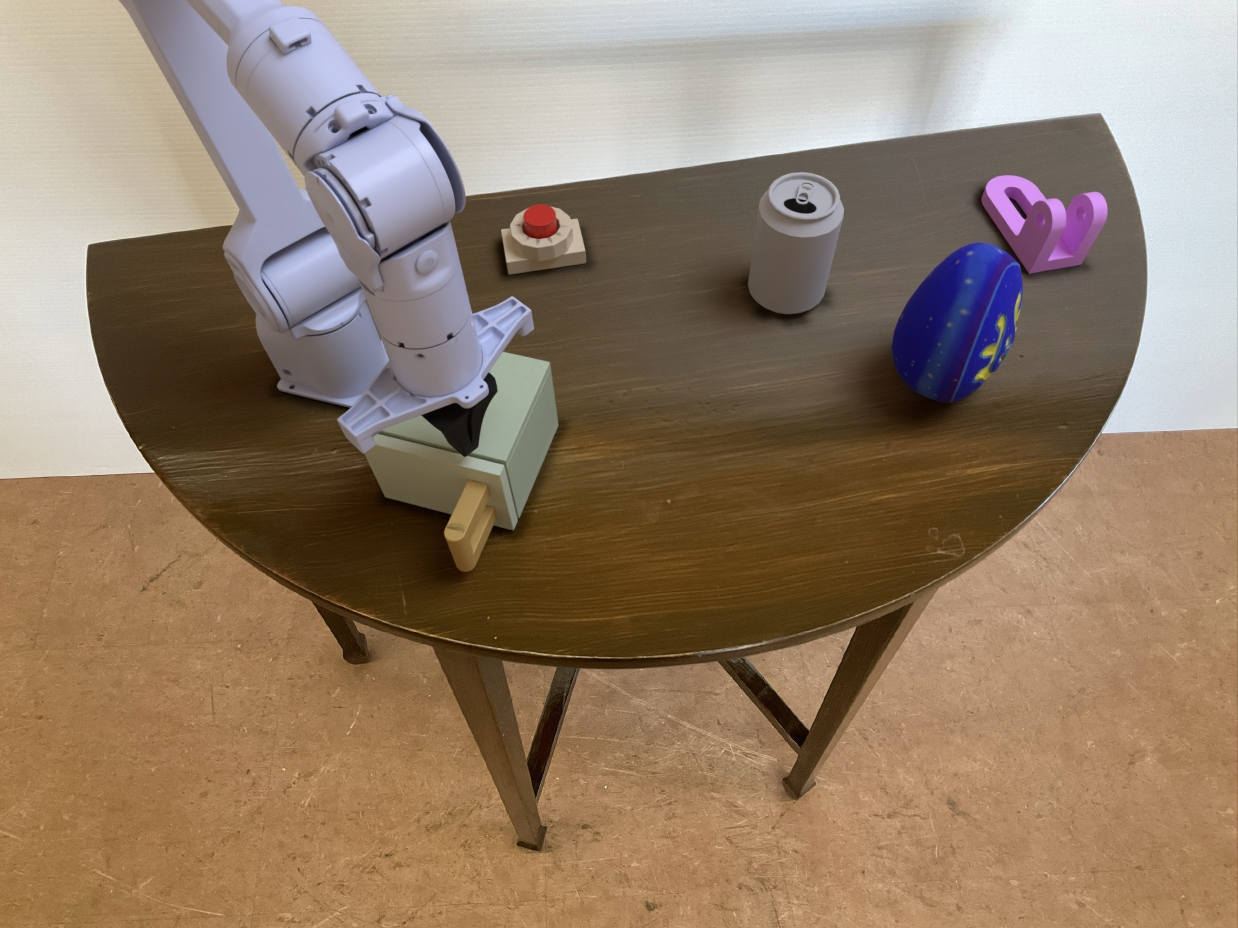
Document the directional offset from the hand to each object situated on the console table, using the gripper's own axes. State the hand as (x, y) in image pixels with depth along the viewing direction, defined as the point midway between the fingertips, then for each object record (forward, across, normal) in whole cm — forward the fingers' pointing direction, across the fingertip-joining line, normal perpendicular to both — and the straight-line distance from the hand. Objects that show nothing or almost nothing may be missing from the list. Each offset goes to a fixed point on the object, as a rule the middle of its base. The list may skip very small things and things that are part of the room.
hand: (463, 444), depth 63 cm
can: (+10, +37, -2) cm, 39 cm away
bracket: (+10, +62, -14) cm, 64 cm away
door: (+10, -4, +1) cm, 11 cm away
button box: (+10, +25, +19) cm, 33 cm away
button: (+7, +25, +19) cm, 32 cm away
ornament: (+10, +38, -19) cm, 43 cm away
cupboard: (+10, +3, +5) cm, 12 cm away
